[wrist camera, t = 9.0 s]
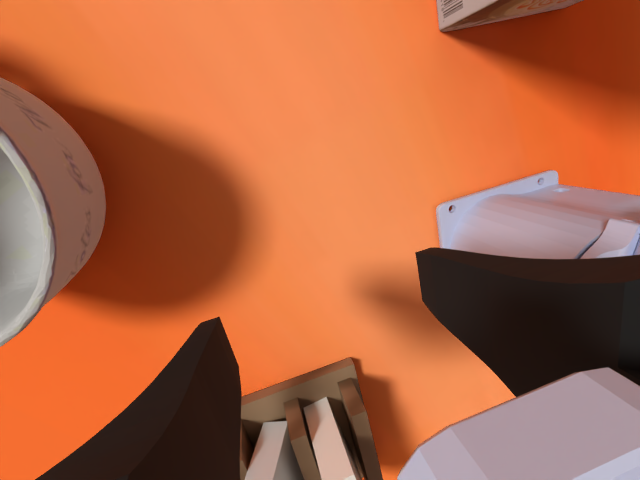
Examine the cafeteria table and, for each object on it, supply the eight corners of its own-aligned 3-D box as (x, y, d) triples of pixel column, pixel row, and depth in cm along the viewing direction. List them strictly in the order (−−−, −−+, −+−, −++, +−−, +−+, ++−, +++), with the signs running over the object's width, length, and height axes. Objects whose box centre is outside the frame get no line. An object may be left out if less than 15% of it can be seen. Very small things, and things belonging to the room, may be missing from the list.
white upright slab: (326, 396, 24) (353, 474, 19) (354, 460, 27) (386, 545, 21) (303, 407, 24) (324, 489, 18) (334, 470, 26) (360, 559, 21)
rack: (350, 357, 25) (370, 396, 21) (376, 461, 28) (397, 510, 25) (215, 406, 23) (211, 458, 20) (260, 510, 27) (264, 569, 23)
